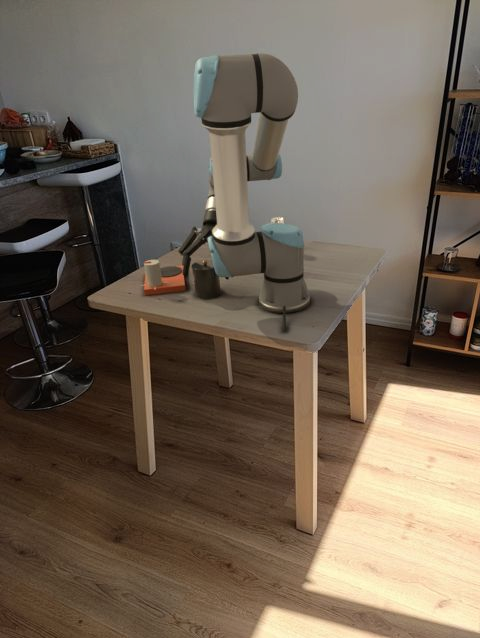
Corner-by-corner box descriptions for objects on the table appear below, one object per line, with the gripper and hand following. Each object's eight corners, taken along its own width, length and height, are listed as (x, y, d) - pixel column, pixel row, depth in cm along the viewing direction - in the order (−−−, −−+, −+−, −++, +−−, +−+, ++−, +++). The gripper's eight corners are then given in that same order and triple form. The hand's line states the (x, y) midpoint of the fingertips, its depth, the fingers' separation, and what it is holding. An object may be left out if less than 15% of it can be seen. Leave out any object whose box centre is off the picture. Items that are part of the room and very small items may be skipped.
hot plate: (185, 291, 155) (184, 285, 154) (141, 297, 153) (140, 290, 152) (183, 270, 171) (182, 264, 170) (143, 275, 169) (142, 269, 168)
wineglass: (282, 246, 188) (281, 216, 182) (288, 250, 183) (287, 219, 177) (268, 249, 186) (267, 218, 180) (274, 253, 182) (273, 222, 175)
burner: (182, 275, 162) (182, 274, 162) (155, 278, 161) (154, 277, 160) (181, 265, 170) (181, 265, 169) (155, 268, 168) (155, 268, 168)
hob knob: (162, 280, 159) (158, 258, 155) (162, 286, 155) (158, 263, 151) (147, 282, 158) (143, 259, 154) (147, 287, 154) (143, 264, 150)
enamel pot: (222, 297, 150) (219, 263, 144) (196, 300, 149) (191, 266, 143) (219, 286, 157) (216, 254, 151) (194, 289, 156) (190, 257, 150)
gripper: (256, 221, 154) (246, 283, 150) (184, 220, 160) (173, 279, 155) (251, 209, 147) (240, 273, 142) (175, 208, 153) (163, 270, 148)
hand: (205, 276), depth 149 cm, fingers open, 13 cm apart
